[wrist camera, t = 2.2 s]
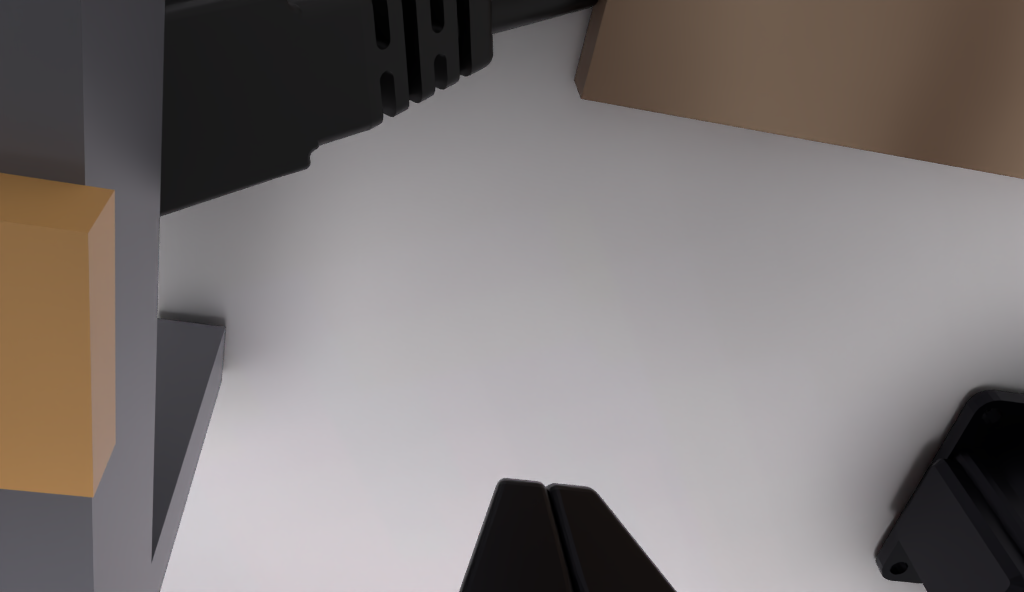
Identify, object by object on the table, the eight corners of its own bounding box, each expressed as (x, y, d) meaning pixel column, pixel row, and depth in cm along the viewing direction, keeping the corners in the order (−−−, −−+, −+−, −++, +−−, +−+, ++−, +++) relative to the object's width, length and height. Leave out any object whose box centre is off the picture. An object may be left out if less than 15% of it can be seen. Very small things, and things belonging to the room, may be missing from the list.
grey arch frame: (304, -555, 13) (62, -1043, 4) (232, 382, 22) (100, 860, 13) (154, -599, 13) (-441, -1225, 4) (140, 371, 21) (-61, 856, 12)
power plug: (612, 143, 19) (-52, 397, 12) (395, 51, 24) (-159, 197, 17) (626, -176, 16) (-247, -60, 9) (373, -206, 21) (-309, -143, 14)
